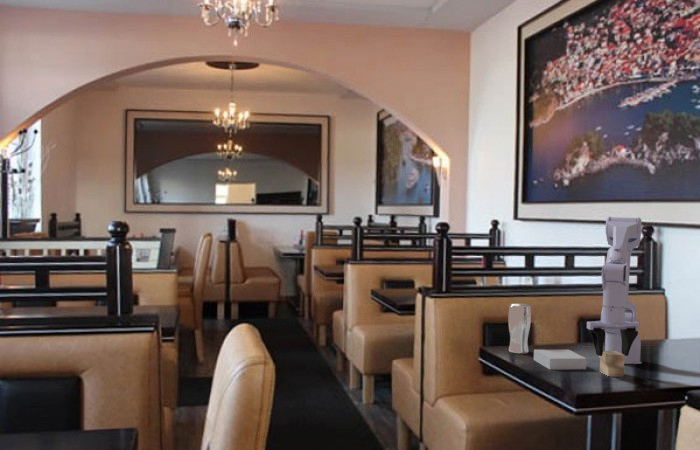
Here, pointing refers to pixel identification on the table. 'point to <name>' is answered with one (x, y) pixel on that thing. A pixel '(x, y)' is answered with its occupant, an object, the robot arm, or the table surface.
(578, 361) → the ceramic box
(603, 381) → the table surface
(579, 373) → the table surface
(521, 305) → the beer glass
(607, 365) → the beech block
